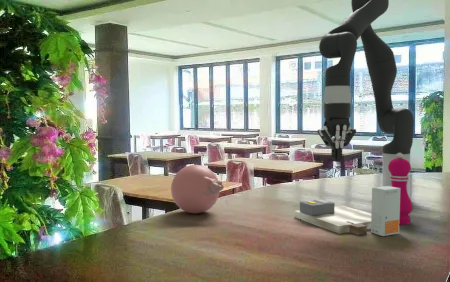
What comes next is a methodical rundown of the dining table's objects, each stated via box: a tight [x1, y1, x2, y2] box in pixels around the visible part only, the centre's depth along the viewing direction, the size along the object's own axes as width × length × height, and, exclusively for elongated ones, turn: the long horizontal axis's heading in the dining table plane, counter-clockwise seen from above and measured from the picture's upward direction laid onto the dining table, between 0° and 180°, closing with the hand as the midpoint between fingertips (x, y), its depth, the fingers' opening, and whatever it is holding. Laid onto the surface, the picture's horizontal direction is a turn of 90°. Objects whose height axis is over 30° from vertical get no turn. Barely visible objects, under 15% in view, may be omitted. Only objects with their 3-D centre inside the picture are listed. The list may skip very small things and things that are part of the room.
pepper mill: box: [388, 153, 413, 226], centre depth 120 cm, size 7×7×20 cm
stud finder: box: [299, 198, 336, 216], centre depth 124 cm, size 8×6×3 cm
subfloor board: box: [294, 205, 371, 236], centre depth 120 cm, size 18×23×2 cm
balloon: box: [170, 164, 224, 214], centre depth 132 cm, size 15×20×15 cm
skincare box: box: [370, 186, 400, 237], centre depth 108 cm, size 6×4×12 cm
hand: (336, 160), depth 124 cm, fingers closed
